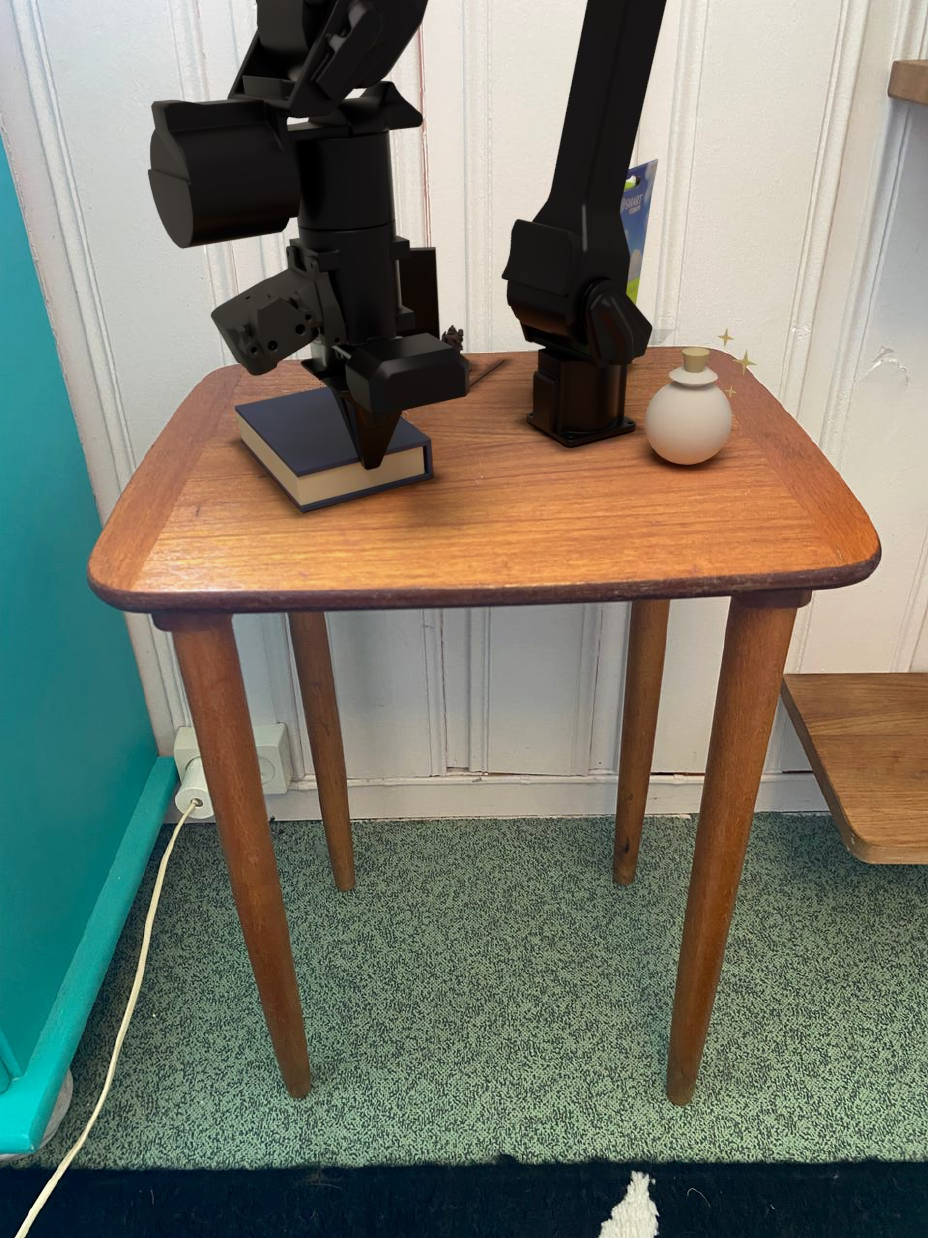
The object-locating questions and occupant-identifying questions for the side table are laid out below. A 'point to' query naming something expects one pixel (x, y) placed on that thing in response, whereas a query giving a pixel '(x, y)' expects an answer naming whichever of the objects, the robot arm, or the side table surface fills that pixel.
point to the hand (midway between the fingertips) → (371, 467)
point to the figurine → (459, 345)
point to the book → (326, 450)
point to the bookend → (420, 291)
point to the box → (637, 219)
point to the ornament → (690, 411)
